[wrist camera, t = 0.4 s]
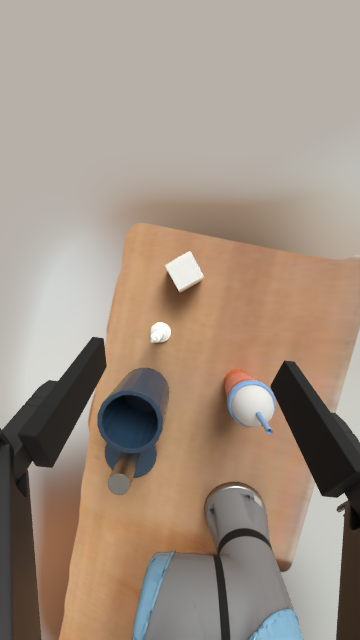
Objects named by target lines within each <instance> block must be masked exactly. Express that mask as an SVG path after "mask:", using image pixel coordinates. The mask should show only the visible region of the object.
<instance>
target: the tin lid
mask: <svg viewBox="0 0 360 640" xmlns="http://www.w3.org/2000/svg"><path fill="white" fill-rule="evenodd" d="M156 456H157V451H156V446H155V444H153V445H152V446H151V447H150V448H149V449H147V450H144V451H142V452H140V453H125V452H121V451H117V450H116V449H114V448H113V447H111V446H110V445H108V444H106V447H105V458H106V461H107V463H108V465H109V467H110V468H111V469H112V470H113V471H112V473H111V475H110V478H109V480H108V487H109V489H110V491H111V492H112V493H114V494H117V495H123V494H125V493H127V492H128V490H129V489H130V486H131V482H132V479H133V478H138V477H141V476H143V475H145V474H147V473H148V472H149V471H150V470H151V469H152V467H153V466H154V464H155V461H156Z"/></svg>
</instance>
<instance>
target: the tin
mask: <svg viewBox="0 0 360 640" xmlns="http://www.w3.org/2000/svg"><path fill="white" fill-rule="evenodd" d="M168 398H169V387H168V384H167V381H166V380H165V378H164V377H163V376H162V375H161V374H160V373H159V372H157V371H156V370H153V369H150V368H139V369H135V370H133V371H131V372H130V373H129V374H128V375H127V376H126V377H125V378H124V379H123V380H122V381H121V383H120V384H119V385H118V386H117V387H116V388H115V389H114V391H113V392H112V393H111V394H110V395H109V396H108V398H107V399H106V400H105V401H104V402H103V403H102V405H101V408H100V410H99V413H98V428H99V431H100V434H101V436H102V437H103V439H104V440H105V441H106V442H107V444H108V445H110V446H111V447H113V448H114V449H116V450H117V451H121V452H125V453H140V452H142V451H144V450H147V449H149V448H150V447H151V446H152V445H153V444H154V443H155V442H156V441H157V440H158V439H159V437H160V434H161V432H162V429H163V424H164V419H165V414H166V409H167V403H168Z"/></svg>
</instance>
